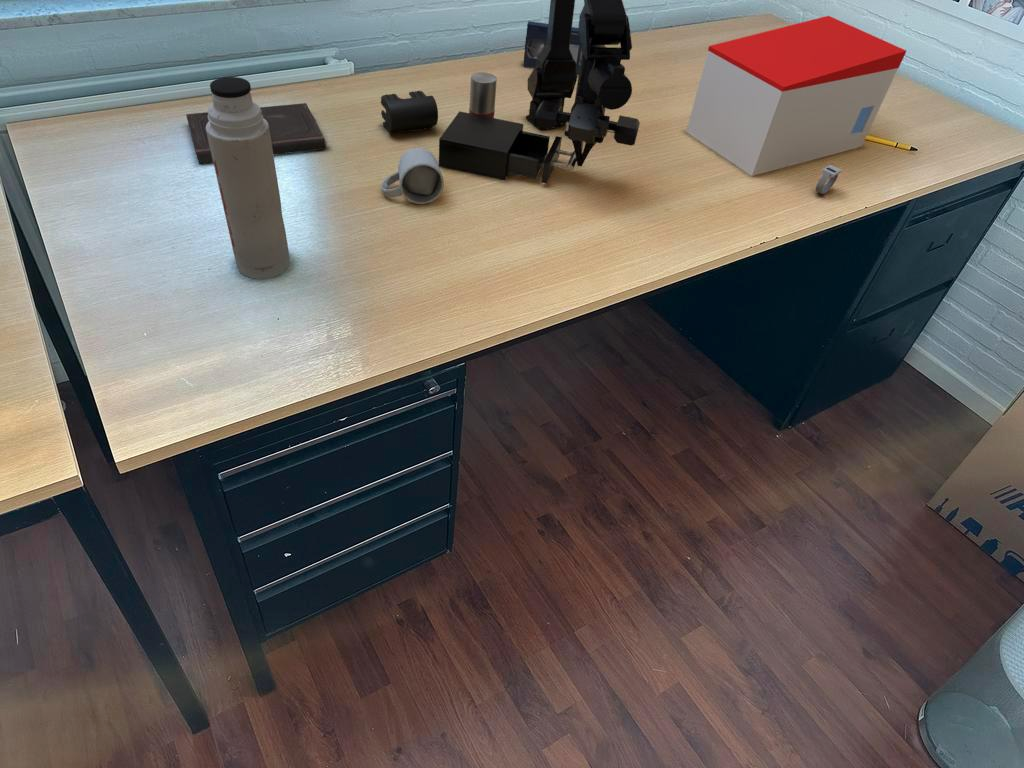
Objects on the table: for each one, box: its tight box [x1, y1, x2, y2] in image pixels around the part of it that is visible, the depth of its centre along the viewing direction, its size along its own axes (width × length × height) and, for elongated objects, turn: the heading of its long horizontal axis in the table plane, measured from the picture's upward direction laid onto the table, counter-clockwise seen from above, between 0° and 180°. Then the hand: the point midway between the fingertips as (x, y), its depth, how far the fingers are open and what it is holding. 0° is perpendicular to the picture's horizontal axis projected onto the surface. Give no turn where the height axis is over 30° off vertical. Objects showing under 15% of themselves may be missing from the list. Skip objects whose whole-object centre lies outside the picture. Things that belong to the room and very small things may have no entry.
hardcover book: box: [185, 102, 327, 164], centre depth 137 cm, size 16×23×2 cm
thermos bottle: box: [206, 76, 291, 280], centre depth 101 cm, size 8×8×28 cm
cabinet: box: [438, 111, 524, 181], centre depth 138 cm, size 13×13×6 cm
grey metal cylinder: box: [468, 71, 498, 118], centre depth 147 cm, size 5×5×10 cm
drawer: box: [506, 130, 577, 184], centre depth 137 cm, size 16×12×4 cm
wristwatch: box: [815, 164, 843, 195], centre depth 141 cm, size 6×3×5 cm, turn 135°
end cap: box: [380, 90, 439, 135], centre depth 144 cm, size 10×7×7 cm
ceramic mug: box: [380, 147, 445, 205], centre depth 126 cm, size 11×8×8 cm
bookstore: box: [685, 15, 907, 177], centre depth 151 cm, size 21×35×21 cm, turn 121°
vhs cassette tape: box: [522, 20, 582, 76], centre depth 172 cm, size 18×3×10 cm, turn 80°
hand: (579, 165), depth 136 cm, fingers closed
